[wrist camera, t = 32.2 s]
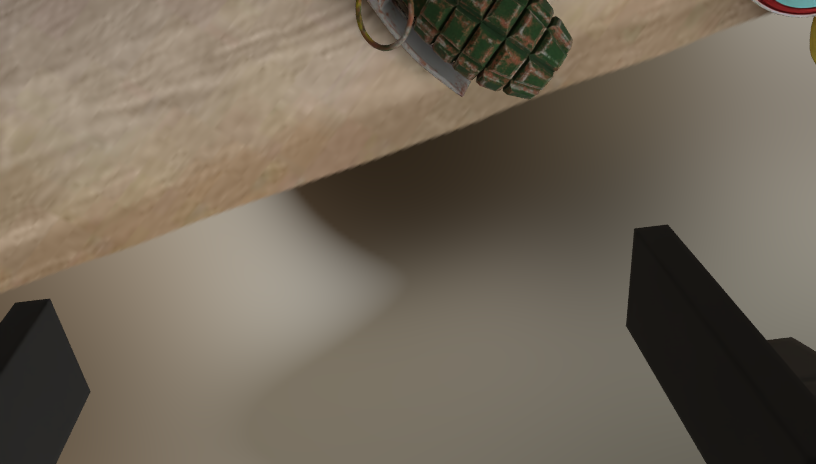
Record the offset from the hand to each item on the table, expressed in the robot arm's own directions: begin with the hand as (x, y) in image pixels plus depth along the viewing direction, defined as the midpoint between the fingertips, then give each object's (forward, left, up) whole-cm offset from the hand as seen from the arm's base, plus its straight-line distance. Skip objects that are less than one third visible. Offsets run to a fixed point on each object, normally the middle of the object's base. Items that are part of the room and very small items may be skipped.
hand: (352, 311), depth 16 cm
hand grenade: (+10, 0, -25) cm, 27 cm away
